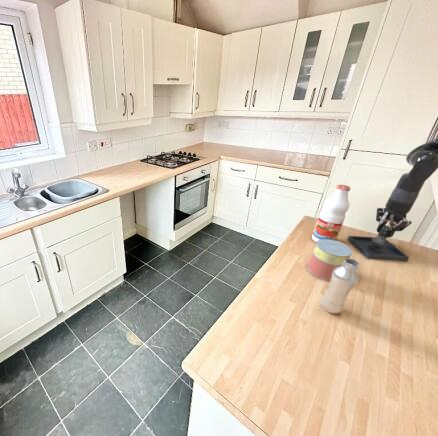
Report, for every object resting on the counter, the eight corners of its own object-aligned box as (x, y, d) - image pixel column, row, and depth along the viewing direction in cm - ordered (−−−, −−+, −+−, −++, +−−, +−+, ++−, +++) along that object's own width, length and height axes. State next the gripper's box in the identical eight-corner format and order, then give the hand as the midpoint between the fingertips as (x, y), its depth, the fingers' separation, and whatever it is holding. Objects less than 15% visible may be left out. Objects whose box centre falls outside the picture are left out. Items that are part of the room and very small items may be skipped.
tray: (382, 241, 116) (384, 237, 115) (407, 261, 103) (409, 257, 102) (347, 239, 118) (349, 235, 117) (367, 258, 105) (369, 254, 104)
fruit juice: (335, 239, 118) (357, 185, 105) (333, 248, 112) (357, 192, 99) (312, 233, 124) (331, 181, 110) (309, 241, 117) (329, 187, 104)
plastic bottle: (344, 310, 81) (369, 263, 72) (335, 319, 78) (360, 272, 69) (323, 298, 86) (344, 252, 77) (314, 306, 83) (334, 260, 73)
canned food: (321, 260, 105) (330, 236, 99) (347, 277, 95) (359, 252, 90) (301, 265, 102) (309, 242, 96) (326, 283, 92) (337, 258, 86)
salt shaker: (364, 243, 113) (375, 221, 107) (377, 244, 113) (389, 221, 107) (374, 251, 108) (387, 228, 102) (388, 251, 107) (401, 228, 102)
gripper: (429, 206, 92) (407, 243, 101) (395, 192, 105) (378, 226, 113) (410, 206, 92) (389, 243, 100) (378, 192, 105) (362, 226, 113)
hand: (383, 234), depth 107 cm, fingers closed on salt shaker, 3 cm apart
